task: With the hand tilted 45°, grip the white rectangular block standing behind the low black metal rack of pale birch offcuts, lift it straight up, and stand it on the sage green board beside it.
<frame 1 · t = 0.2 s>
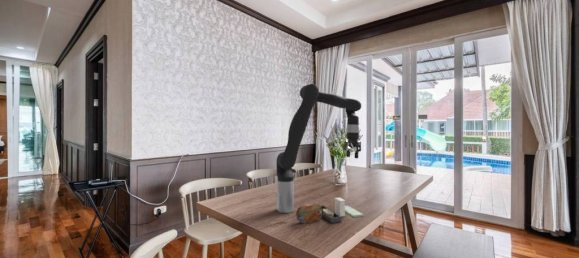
hand: (352, 157, 155), 29 cm above the table, tool pointing down, fingers open, 8 cm apart
offcut stack: (327, 216, 132), resting in rack
tin: (309, 221, 125), on the table
rack: (327, 215, 132), on the table
white rectangular block: (339, 214, 134), on the table
board: (350, 211, 139), on the table
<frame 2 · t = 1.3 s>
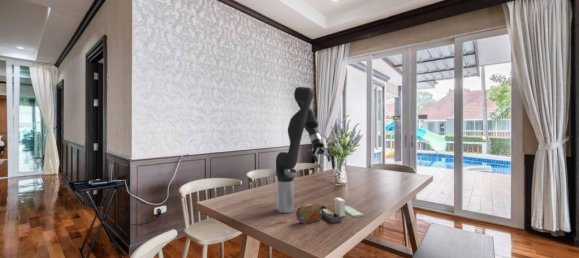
hand: (323, 161, 155), 27 cm above the table, tool tilted 45°, fingers open, 8 cm apart
nothing on the table moved.
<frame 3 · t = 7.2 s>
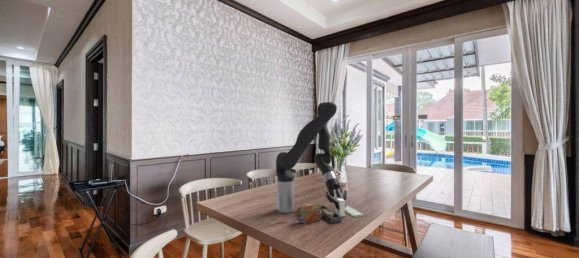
hand: (341, 208, 132), 4 cm above the table, tool tilted 45°, fingers closed on white rectangular block, 3 cm apart
white rectangular block: (339, 214, 134), on the table, touching gripper
everything else where it was.
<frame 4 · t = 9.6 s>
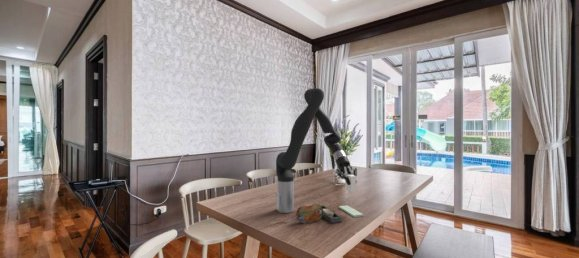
hand: (352, 184, 137), 16 cm above the table, tool tilted 45°, fingers closed on white rectangular block, 3 cm apart
white rectangular block: (350, 190, 139), point 12 cm above the table, touching gripper
everything else where it was.
when the fingers open (6 cm above the table, at t = 12.3 s): white rectangular block stays where it is, resting on board.
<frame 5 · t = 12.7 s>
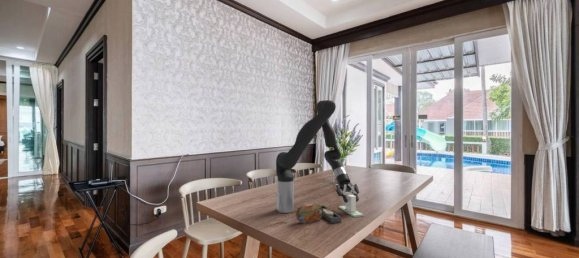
hand: (352, 201, 137), 6 cm above the table, tool tilted 45°, fingers open, 6 cm apart
white rectangular block: (350, 210, 139), point 1 cm above the table, touching board
everything else where it was.
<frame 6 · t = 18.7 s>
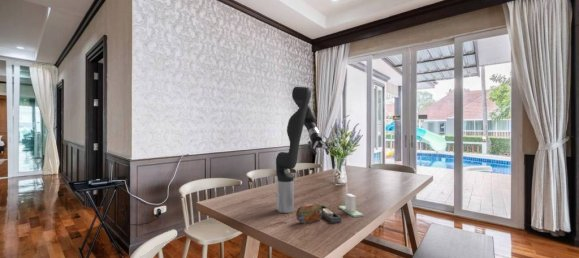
hand: (322, 154, 157), 31 cm above the table, tool tilted 45°, fingers open, 8 cm apart
nothing on the table moved.
at the end: white rectangular block inside the target area (0.1 cm from its centre), point 1.0 cm above the table; white rectangular block tilted 0°; the gripper is holding nothing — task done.
